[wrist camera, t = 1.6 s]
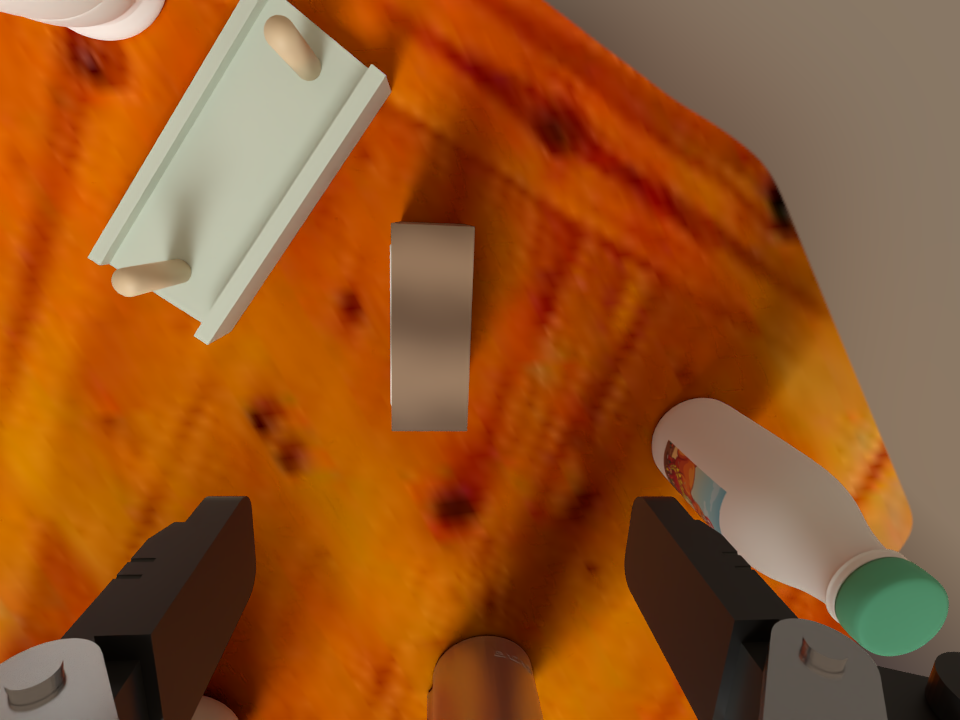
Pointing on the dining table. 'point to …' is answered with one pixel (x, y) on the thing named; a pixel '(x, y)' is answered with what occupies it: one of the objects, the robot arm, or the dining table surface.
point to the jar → (90, 15)
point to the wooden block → (430, 324)
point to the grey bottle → (213, 710)
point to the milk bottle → (796, 524)
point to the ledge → (240, 165)
